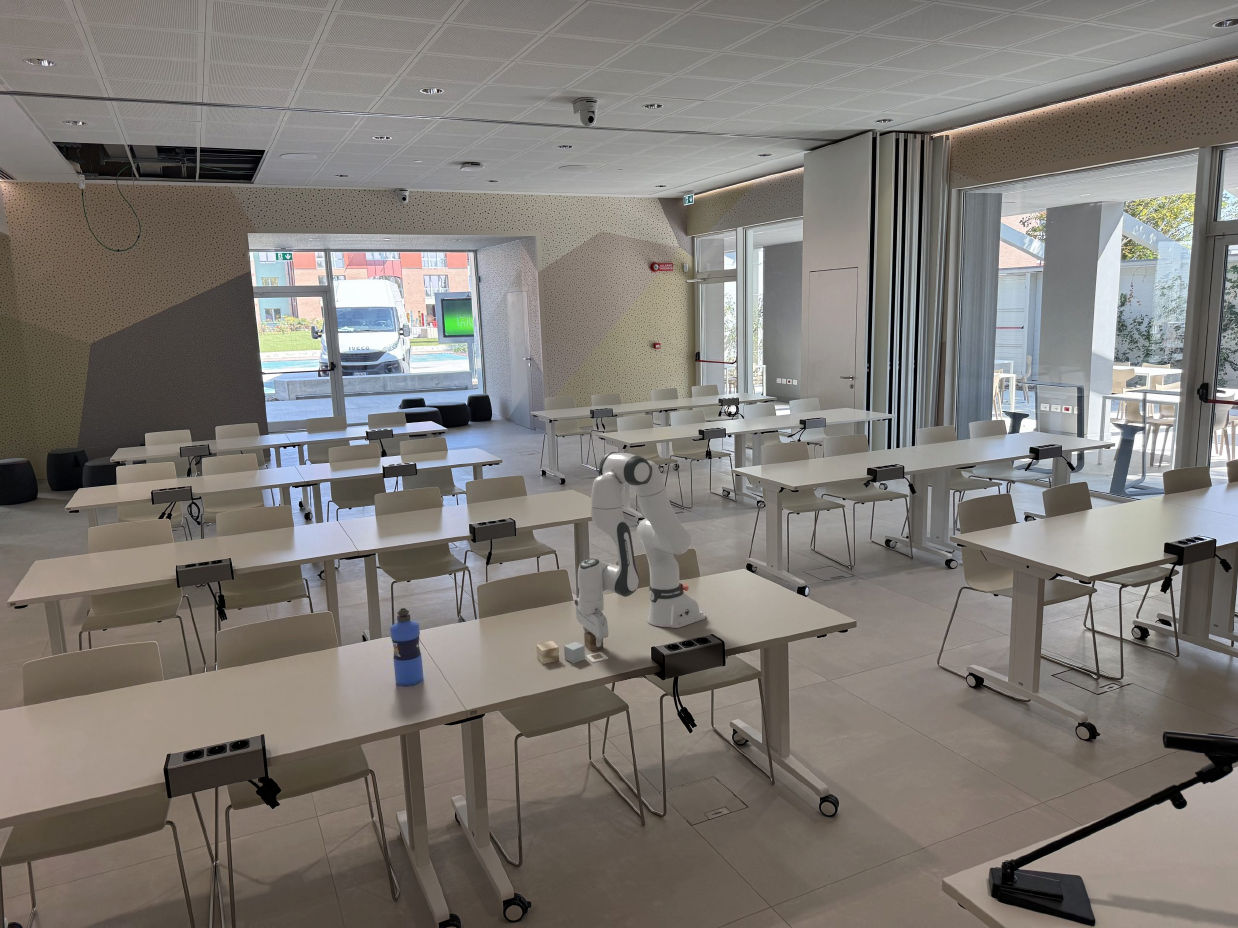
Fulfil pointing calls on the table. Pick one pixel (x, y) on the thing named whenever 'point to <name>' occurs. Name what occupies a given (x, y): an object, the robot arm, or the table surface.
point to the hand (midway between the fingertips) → (593, 641)
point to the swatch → (596, 657)
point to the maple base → (547, 652)
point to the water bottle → (406, 650)
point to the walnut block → (591, 641)
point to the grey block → (574, 652)
